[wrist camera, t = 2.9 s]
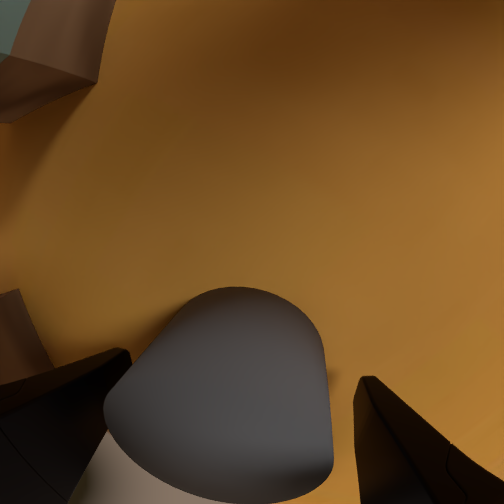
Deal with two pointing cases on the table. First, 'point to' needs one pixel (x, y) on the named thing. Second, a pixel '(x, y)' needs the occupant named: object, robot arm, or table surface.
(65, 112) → the table surface
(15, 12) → the tower top
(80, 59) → the tower base
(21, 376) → the block
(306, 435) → the stone
